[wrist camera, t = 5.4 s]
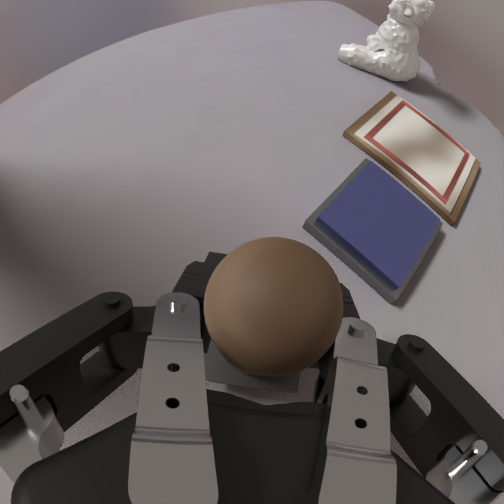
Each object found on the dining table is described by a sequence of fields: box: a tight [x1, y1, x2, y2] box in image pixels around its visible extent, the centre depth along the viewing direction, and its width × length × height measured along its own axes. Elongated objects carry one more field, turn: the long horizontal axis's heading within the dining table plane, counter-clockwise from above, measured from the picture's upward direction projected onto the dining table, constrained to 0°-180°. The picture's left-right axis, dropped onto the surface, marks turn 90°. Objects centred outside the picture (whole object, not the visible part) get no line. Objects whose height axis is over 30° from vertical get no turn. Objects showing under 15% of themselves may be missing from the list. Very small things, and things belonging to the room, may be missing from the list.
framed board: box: [343, 91, 481, 225], centre depth 25 cm, size 12×10×1 cm
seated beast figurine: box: [338, 0, 435, 82], centre depth 25 cm, size 10×9×12 cm
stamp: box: [204, 237, 343, 393], centre depth 12 cm, size 5×5×11 cm
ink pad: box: [303, 158, 443, 304], centre depth 21 cm, size 8×8×2 cm
